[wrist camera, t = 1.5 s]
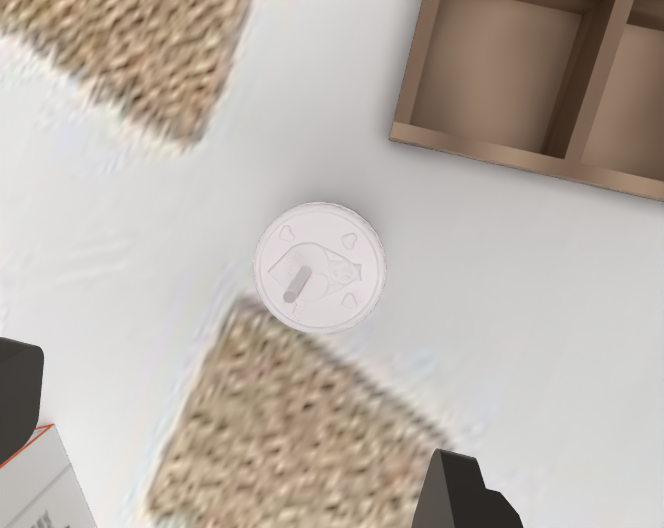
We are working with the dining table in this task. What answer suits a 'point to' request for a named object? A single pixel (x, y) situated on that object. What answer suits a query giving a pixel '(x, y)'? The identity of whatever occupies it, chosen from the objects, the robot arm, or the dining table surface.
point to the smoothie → (320, 268)
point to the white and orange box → (42, 486)
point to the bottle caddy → (541, 88)
